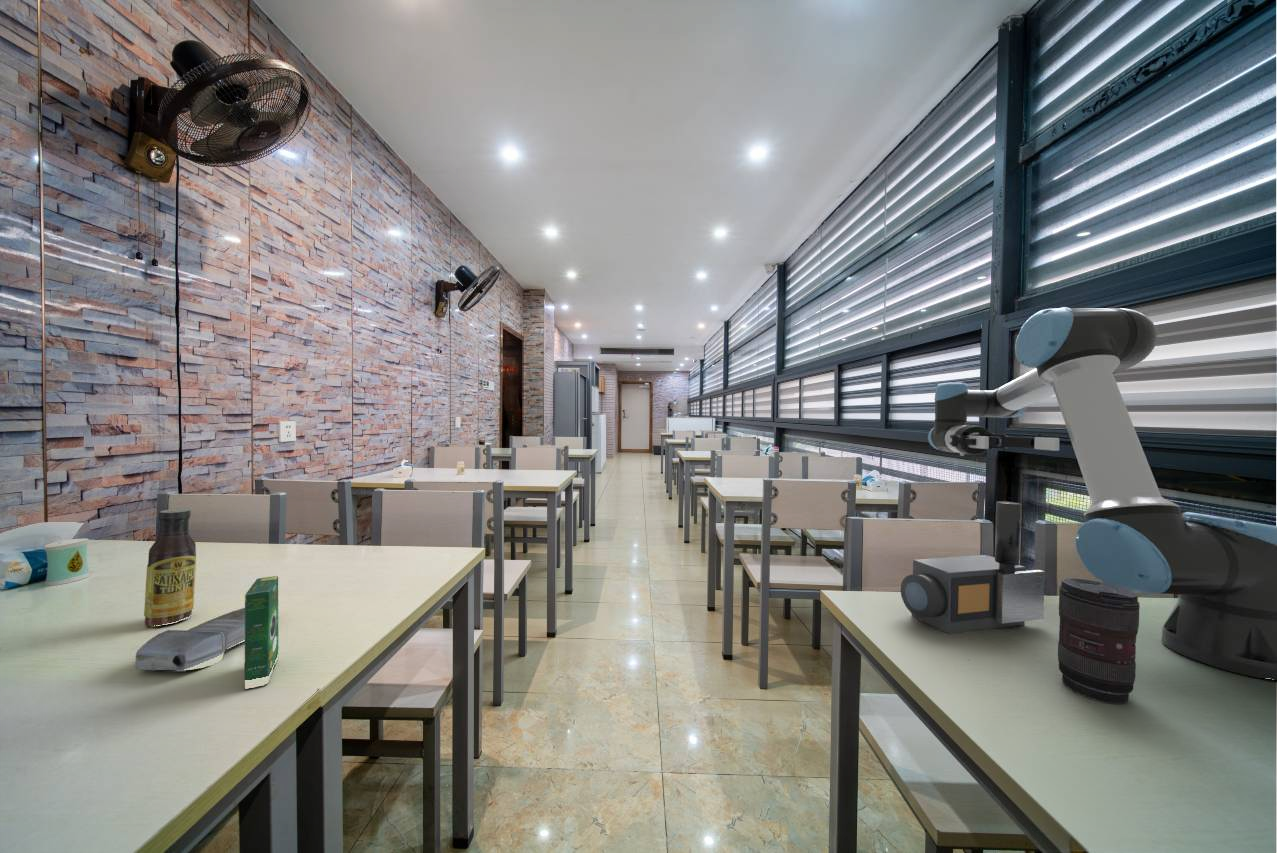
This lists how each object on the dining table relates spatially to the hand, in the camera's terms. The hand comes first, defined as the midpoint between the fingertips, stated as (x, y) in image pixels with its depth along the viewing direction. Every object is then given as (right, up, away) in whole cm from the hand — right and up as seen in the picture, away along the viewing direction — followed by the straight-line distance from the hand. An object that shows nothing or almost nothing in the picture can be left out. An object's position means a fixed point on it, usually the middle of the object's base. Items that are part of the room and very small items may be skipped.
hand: (1021, 443), depth 99 cm
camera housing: (-21, -34, -11) cm, 41 cm away
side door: (-12, -32, -14) cm, 37 cm away
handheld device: (-151, -32, -25) cm, 156 cm away
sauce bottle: (-167, -31, -17) cm, 171 cm away
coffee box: (-137, -32, -33) cm, 145 cm away
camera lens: (-18, -34, -34) cm, 51 cm away
